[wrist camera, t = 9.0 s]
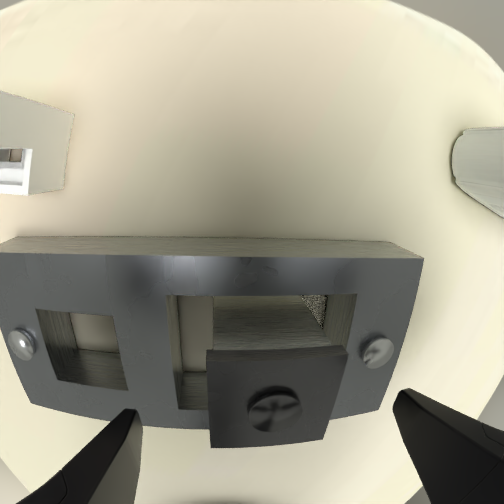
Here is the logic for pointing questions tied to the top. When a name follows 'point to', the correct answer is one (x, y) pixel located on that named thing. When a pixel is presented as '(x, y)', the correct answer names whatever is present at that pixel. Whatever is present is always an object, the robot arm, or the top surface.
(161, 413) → the metal cover plate
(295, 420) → the drawer with knob
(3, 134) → the white angled block
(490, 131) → the photo printer
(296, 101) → the top surface
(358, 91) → the top surface
